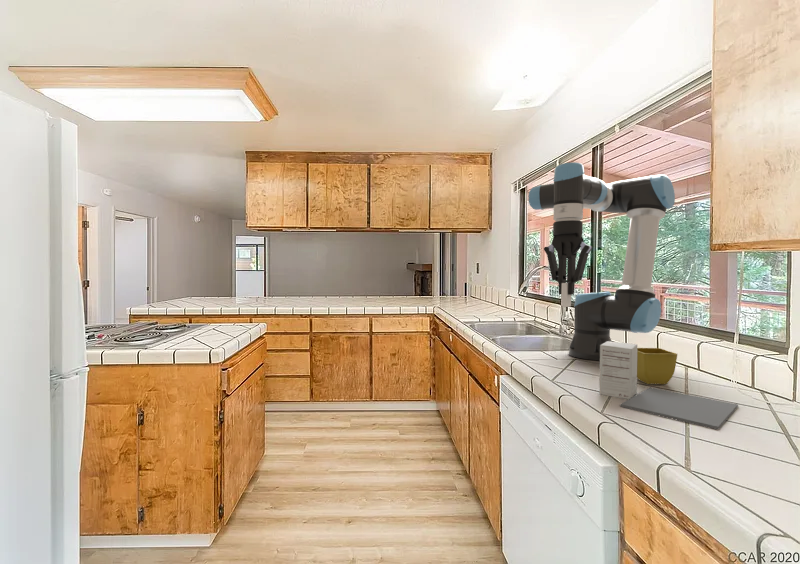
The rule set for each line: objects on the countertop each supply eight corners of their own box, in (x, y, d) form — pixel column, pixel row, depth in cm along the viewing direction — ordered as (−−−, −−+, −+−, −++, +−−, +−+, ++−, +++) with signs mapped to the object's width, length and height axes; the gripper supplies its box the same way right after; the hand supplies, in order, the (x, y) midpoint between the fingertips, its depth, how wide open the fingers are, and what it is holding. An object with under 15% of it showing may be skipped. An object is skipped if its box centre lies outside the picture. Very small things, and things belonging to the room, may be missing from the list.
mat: (649, 389, 107) (650, 387, 107) (737, 406, 94) (738, 404, 94) (620, 406, 94) (620, 404, 94) (718, 429, 80) (718, 426, 80)
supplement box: (606, 387, 109) (606, 340, 109) (637, 393, 104) (638, 343, 104) (598, 394, 103) (599, 344, 103) (631, 400, 99) (632, 348, 98)
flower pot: (627, 377, 119) (628, 347, 118) (658, 378, 118) (659, 347, 118) (643, 386, 110) (644, 353, 110) (677, 387, 109) (678, 353, 109)
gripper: (538, 221, 115) (537, 305, 115) (585, 217, 105) (583, 309, 106) (552, 223, 120) (550, 304, 120) (597, 220, 110) (595, 307, 111)
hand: (566, 306), depth 113 cm, fingers closed
